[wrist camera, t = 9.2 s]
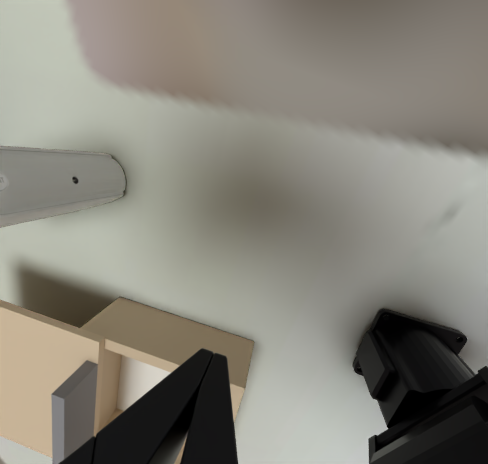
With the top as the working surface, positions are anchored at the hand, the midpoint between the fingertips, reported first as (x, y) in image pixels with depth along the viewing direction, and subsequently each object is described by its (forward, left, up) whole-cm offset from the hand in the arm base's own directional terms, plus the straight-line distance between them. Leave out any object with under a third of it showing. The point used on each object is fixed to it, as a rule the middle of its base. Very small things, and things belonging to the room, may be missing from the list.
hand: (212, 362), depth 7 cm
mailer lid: (+17, +18, -8) cm, 26 cm away
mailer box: (+5, +18, -13) cm, 23 cm away
